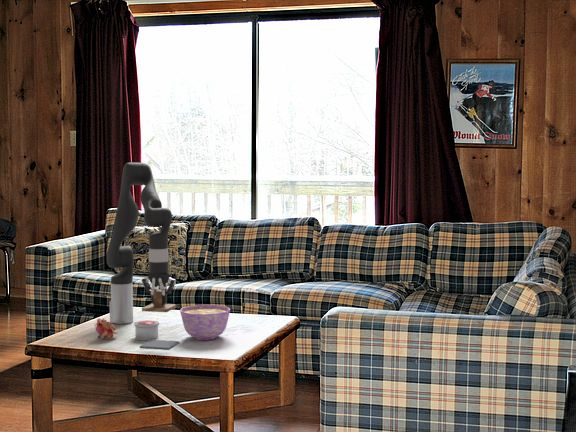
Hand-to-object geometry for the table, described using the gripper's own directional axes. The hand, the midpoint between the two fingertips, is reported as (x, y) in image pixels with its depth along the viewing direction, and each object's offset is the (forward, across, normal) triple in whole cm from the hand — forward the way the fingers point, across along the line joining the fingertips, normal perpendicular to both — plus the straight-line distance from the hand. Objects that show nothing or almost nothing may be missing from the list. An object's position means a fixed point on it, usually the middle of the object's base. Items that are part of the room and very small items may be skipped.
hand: (159, 304), depth 322 cm
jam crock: (+16, -10, +11) cm, 22 cm away
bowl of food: (+16, +13, +16) cm, 26 cm away
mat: (+16, 0, 0) cm, 16 cm away
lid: (+2, 0, 0) cm, 2 cm away
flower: (+16, -25, +6) cm, 30 cm away
